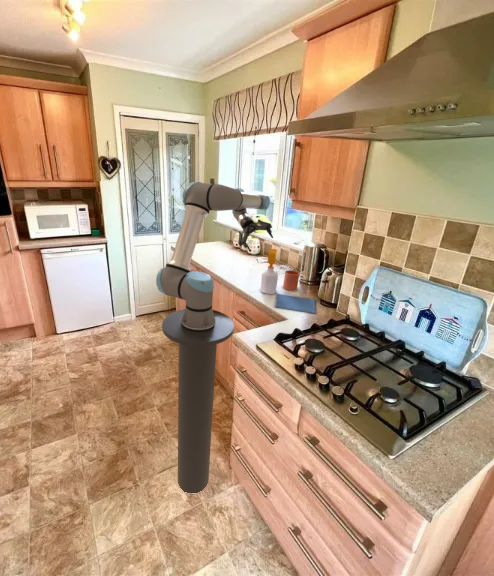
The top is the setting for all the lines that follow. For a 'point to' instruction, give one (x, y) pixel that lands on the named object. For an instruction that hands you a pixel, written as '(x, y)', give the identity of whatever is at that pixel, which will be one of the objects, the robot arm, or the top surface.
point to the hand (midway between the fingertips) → (260, 242)
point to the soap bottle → (269, 275)
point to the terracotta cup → (291, 280)
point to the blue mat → (295, 303)
